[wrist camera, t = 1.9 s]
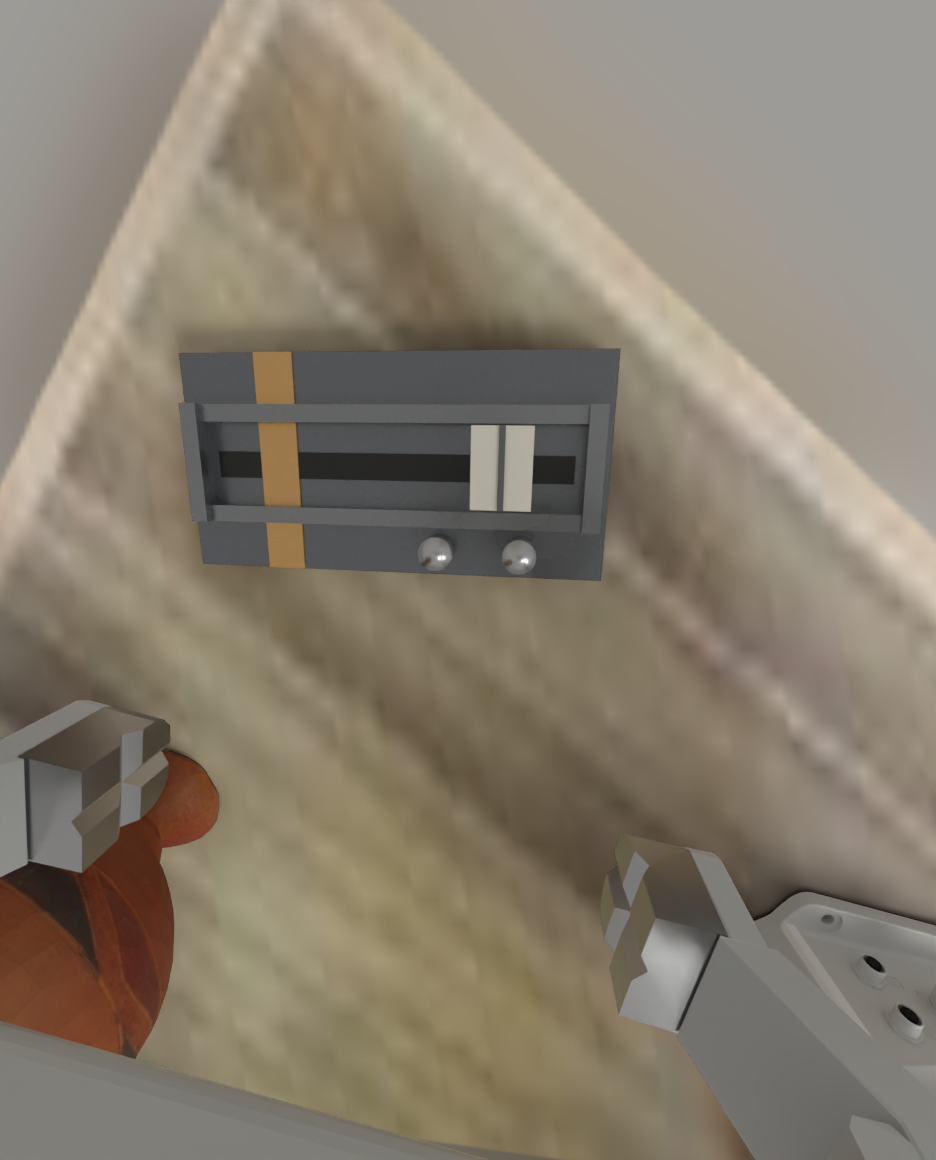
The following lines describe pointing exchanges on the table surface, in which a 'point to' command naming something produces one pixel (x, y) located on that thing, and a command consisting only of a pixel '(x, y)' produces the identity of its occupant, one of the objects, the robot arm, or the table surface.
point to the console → (396, 459)
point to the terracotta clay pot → (101, 927)
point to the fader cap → (501, 467)
